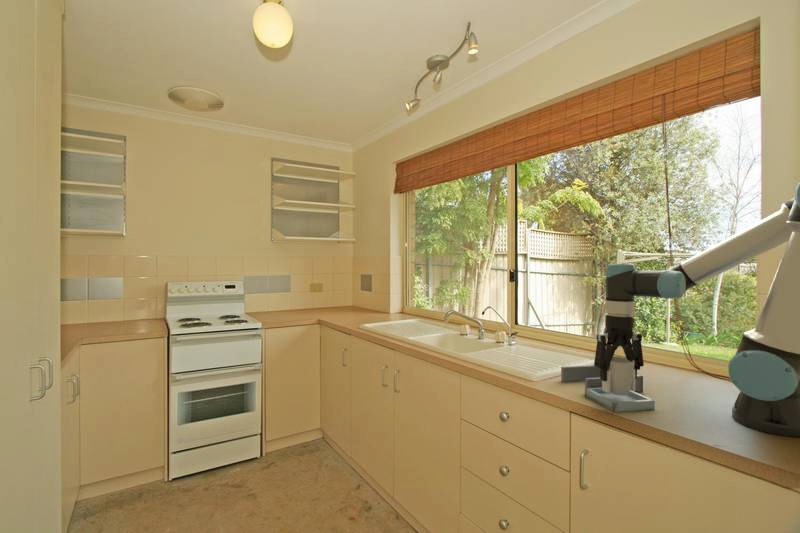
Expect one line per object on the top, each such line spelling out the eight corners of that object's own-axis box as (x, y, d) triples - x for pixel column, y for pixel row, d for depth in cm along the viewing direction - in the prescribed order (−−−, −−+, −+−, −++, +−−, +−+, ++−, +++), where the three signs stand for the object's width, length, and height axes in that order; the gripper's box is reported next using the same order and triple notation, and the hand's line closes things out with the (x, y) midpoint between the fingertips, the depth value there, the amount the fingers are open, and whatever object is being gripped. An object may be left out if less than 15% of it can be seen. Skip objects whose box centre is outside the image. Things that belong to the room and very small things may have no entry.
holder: (642, 391, 127) (643, 376, 127) (587, 394, 124) (587, 379, 124) (611, 378, 141) (611, 364, 141) (561, 380, 138) (561, 366, 138)
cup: (608, 386, 123) (608, 354, 123) (637, 392, 117) (638, 359, 117) (599, 392, 117) (599, 359, 117) (629, 399, 112) (629, 364, 111)
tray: (654, 409, 112) (654, 400, 112) (614, 412, 110) (614, 403, 110) (621, 393, 125) (621, 386, 125) (584, 396, 123) (584, 388, 123)
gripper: (639, 312, 122) (638, 384, 123) (580, 313, 119) (579, 388, 119) (659, 315, 115) (658, 392, 115) (597, 317, 111) (596, 396, 112)
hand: (618, 390), depth 117 cm, fingers closed on cup, 8 cm apart
